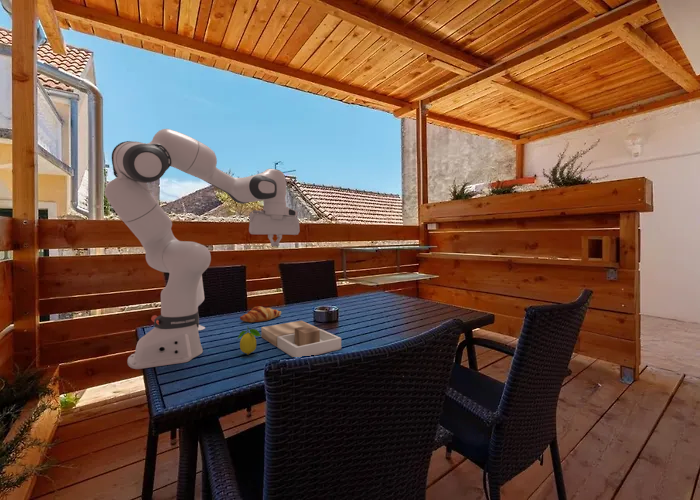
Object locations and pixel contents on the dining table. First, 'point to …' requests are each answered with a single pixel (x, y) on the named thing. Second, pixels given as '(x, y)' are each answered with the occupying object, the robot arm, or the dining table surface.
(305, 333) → the walnut block
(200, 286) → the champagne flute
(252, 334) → the lemon
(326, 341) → the box
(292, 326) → the wooden board
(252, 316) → the croissant
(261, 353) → the dining table surface
